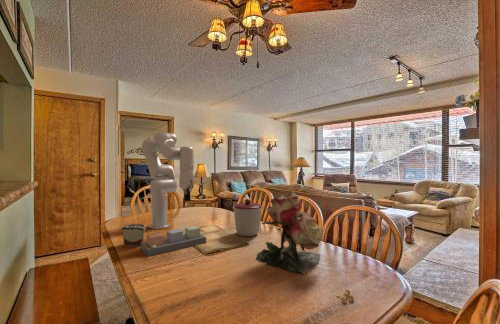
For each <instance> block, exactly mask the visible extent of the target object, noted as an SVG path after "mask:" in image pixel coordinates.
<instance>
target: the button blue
mask: <svg viewBox="0 0 500 324" xmlns="http://www.w3.org/2000/svg"><path fill="white" fill-rule="evenodd" d="M183 234H184V232H183V230H180V229H179V228H177V229H176V228H175V229H171V230H166V238H167V241H168V242H170V243H174V242H178V241H183Z"/></svg>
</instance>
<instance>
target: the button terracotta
mask: <svg viewBox="0 0 500 324" xmlns="http://www.w3.org/2000/svg"><path fill="white" fill-rule="evenodd" d="M163 238H164V235H163V234H162V233H161V232H154V233H149V234H146V242H147V245H148V246H149V247H150V248H151V246H153V245H156V246H160V245H163Z"/></svg>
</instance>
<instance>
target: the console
mask: <svg viewBox="0 0 500 324" xmlns="http://www.w3.org/2000/svg"><path fill="white" fill-rule="evenodd" d="M204 242H206V243H207V236H205V235H203V234H201V233H200V237H197V238H192V239H188V238H187V237H185V233H183V241H178V242H174V243H170V242H168V241H167V237H163V245H160V246H156V245H153V246H151V248H150V247H149V246H148V245H147V241H145V242H144V241H143V243H141V246H140V250H141V251H142V252H143V253H144V254H145V255H146V256H147V257H152V256H156V255H159V254H160V255H161V254H165V253H169V252H173V251H176V250H180V249H186V248H190V247H193V246H197V245H196V244H198V245H201V244H200V243H202V244H205V243H204Z"/></svg>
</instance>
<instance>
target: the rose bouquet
mask: <svg viewBox="0 0 500 324" xmlns="http://www.w3.org/2000/svg"><path fill="white" fill-rule="evenodd" d="M300 201H301V198H300V196H299V195H297V193H296V192H292V191H289V192H286V193H285V194H281V195H280V197H278V196H275V198H271V199H270V204H271V206H267V207H263V206H262V207H263V208H262V209H266V211H267V213H268V216H270V218H271V219H272V220H273V221H264V222H262V223H261V225H278V224H279V225H281V227H282V228H281V227H279V228H277V231H282V232H281V237H280V247H279V246H278V245H277V244H274V243H273V242H270V241H267V240H266V242H265V244H266V248H263V249H262V250H261V251H260V252H258V253H256V258H255V260H256V261H257V262H258V263H261V264H262V263H265V265H267V266H270V267H274V268H282V269H284V270H287V271H289V272H295V273H297V272H299V273H301V274H303V275H306V274H307V272H311V273H313V271H312V270H311V266H317V265H318V264H319V262H320V259H321V254H320V253H314V252H311V251H308V250H314V249H315V248H318V247H319V243H320V242H321V240H322V237H323V232H324V229H323V228H321V227H320V226H319V224H317V221H316V220H315V219H314V216H313V217H312V216H311V215H310V214H309V213H308V212H305V211H304V212H303V211H301V210H300V208H302V207H301V205H300ZM285 242H287V243H288V246H287V247H286V246H285ZM297 245H299V246H300V249H301V250H302V251H301V250H300V251H298V250H297ZM306 250H307V251H306Z"/></svg>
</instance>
